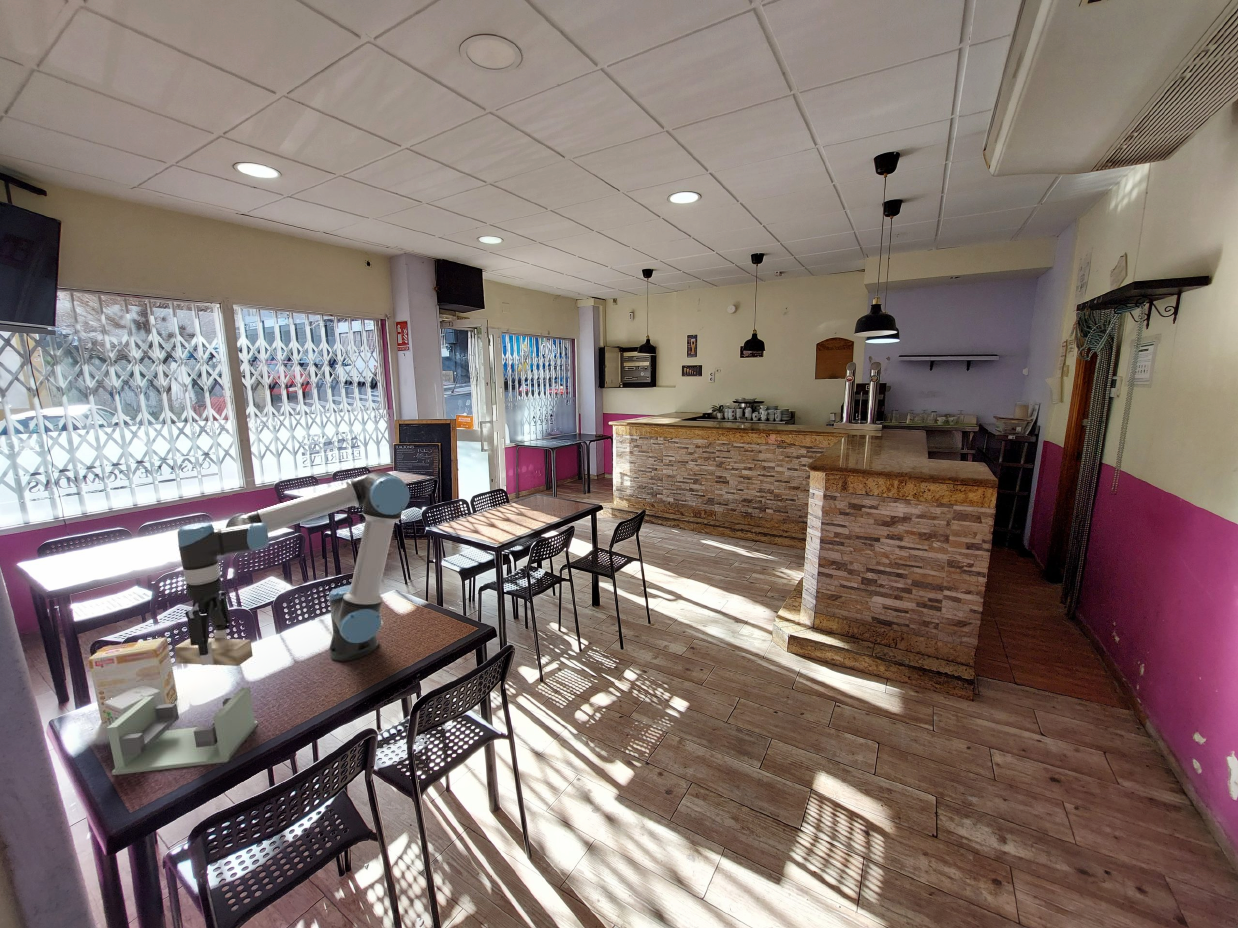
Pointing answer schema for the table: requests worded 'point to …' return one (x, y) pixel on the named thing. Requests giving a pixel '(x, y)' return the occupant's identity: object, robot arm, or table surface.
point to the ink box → (129, 701)
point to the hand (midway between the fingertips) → (215, 657)
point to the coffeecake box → (132, 670)
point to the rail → (216, 652)
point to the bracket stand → (178, 736)
